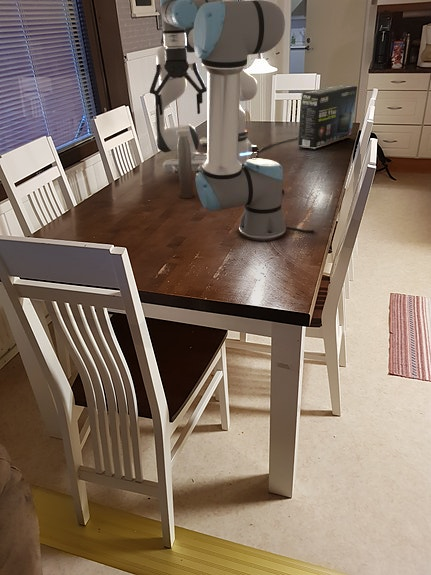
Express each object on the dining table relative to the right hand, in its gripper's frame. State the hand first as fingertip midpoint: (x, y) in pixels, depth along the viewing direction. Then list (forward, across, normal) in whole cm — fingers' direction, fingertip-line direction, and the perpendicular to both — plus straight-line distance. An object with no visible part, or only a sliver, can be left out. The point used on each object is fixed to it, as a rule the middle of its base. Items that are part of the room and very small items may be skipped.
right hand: (180, 113), depth 165 cm
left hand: (+24, 0, +12) cm, 27 cm away
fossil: (+31, +8, +82) cm, 88 cm away
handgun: (+31, +33, +10) cm, 46 cm away
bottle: (+31, 0, 0) cm, 31 cm away
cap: (+6, 0, 0) cm, 6 cm away
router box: (+31, +66, +79) cm, 108 cm away
